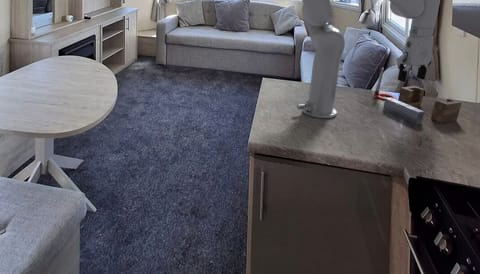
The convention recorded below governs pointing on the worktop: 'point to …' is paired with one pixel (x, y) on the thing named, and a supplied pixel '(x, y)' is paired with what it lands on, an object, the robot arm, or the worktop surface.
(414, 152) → the worktop surface
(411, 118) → the rail
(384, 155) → the worktop surface
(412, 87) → the posts
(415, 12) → the robot arm
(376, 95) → the tow hook
